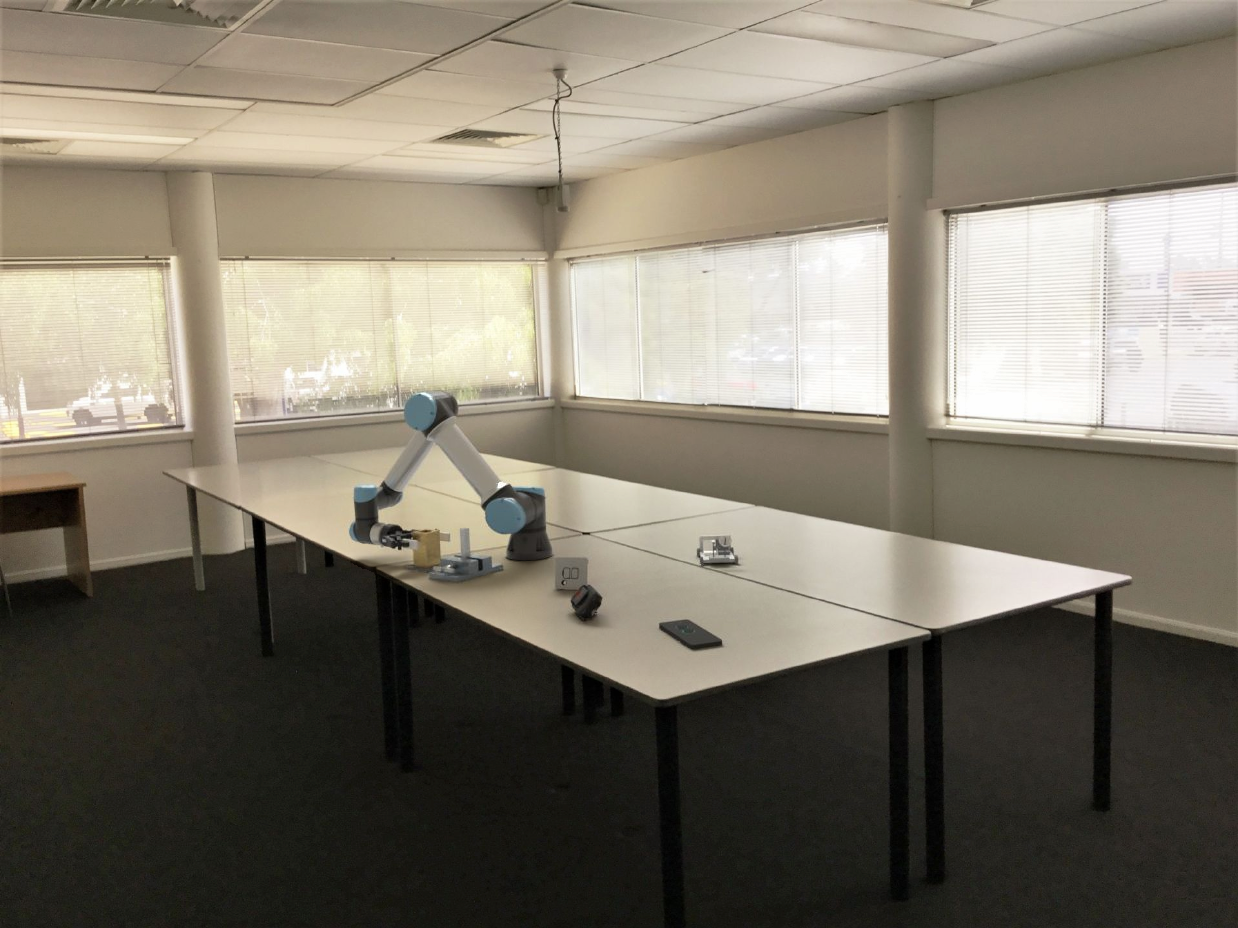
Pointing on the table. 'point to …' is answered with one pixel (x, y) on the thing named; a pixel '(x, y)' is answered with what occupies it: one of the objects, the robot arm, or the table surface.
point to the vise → (464, 563)
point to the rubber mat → (420, 568)
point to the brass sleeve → (427, 548)
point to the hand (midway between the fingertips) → (433, 541)
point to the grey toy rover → (716, 549)
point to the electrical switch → (571, 572)
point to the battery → (586, 601)
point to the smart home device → (690, 634)
